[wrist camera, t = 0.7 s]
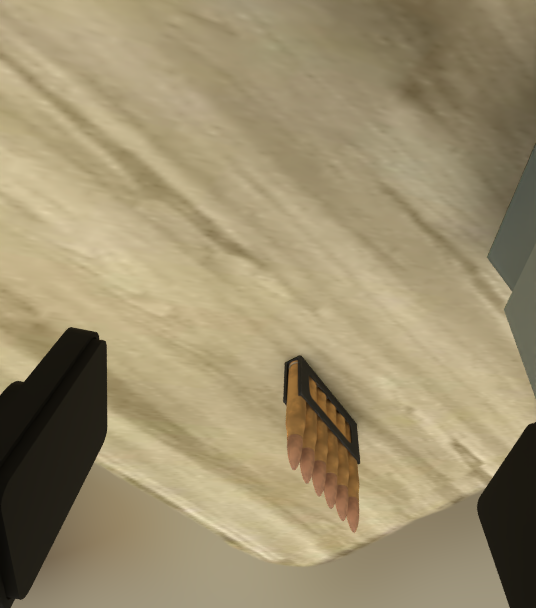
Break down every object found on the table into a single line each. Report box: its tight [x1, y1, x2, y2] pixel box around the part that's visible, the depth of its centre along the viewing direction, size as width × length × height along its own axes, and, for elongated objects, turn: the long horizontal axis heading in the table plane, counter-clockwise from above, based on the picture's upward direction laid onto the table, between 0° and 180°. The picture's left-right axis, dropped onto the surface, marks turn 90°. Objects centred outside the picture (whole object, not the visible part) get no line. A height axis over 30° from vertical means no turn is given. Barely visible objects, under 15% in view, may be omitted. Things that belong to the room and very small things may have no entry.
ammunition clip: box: [283, 356, 360, 533], centre depth 41 cm, size 11×2×12 cm, turn 35°
